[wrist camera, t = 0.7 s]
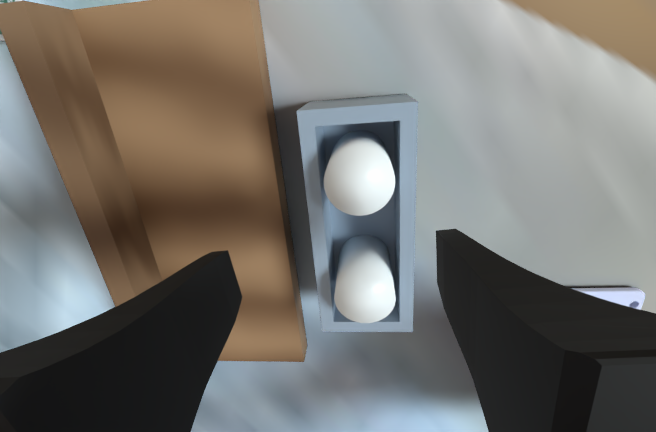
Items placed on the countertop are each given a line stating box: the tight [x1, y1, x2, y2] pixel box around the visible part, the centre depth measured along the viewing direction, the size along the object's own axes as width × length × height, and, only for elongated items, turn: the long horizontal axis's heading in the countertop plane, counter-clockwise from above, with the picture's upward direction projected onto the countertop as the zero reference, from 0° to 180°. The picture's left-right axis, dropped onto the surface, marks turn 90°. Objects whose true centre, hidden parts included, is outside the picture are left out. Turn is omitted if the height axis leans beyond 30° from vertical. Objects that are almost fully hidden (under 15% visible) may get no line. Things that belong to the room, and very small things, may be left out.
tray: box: [297, 94, 418, 332], centre depth 18 cm, size 12×5×5 cm, turn 5°
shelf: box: [0, 0, 307, 362], centre depth 19 cm, size 22×10×4 cm, turn 5°
